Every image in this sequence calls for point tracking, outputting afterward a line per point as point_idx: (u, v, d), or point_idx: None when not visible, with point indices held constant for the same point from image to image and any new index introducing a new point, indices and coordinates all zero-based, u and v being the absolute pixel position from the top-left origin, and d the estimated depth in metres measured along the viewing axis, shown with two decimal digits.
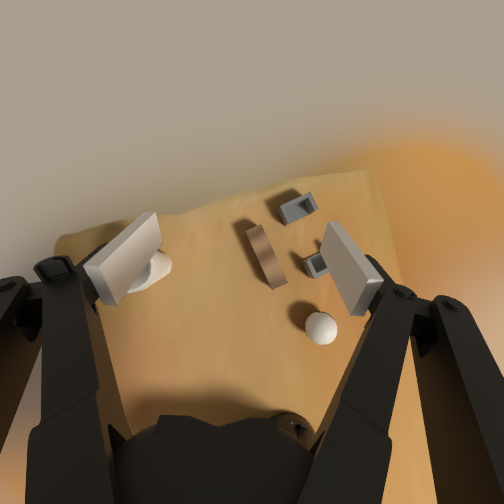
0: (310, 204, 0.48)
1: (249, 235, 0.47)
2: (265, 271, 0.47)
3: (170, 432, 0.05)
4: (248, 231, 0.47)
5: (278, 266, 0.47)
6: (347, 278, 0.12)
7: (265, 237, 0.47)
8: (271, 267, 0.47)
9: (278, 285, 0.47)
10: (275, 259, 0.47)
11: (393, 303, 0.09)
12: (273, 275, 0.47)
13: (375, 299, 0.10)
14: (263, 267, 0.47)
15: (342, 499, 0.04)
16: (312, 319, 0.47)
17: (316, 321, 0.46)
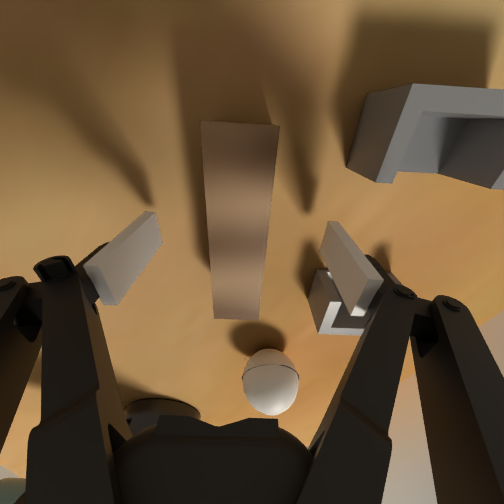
0: (500, 154, 0.12)
1: (211, 154, 0.11)
2: (215, 281, 0.16)
3: (170, 432, 0.05)
4: (212, 130, 0.10)
5: (256, 284, 0.16)
6: (347, 278, 0.12)
7: (266, 192, 0.12)
8: (235, 278, 0.16)
9: (233, 317, 0.18)
10: (259, 266, 0.15)
11: (393, 303, 0.09)
12: (231, 295, 0.17)
13: (375, 299, 0.10)
14: (214, 270, 0.15)
15: (342, 499, 0.04)
16: (263, 377, 0.24)
17: (268, 388, 0.23)
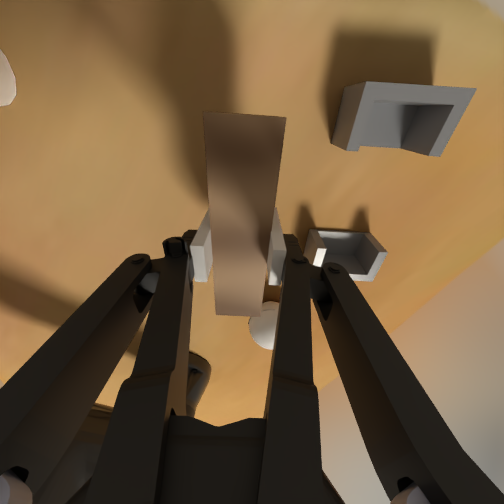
0: (434, 130, 0.17)
1: (214, 146, 0.10)
2: (217, 277, 0.16)
3: (170, 432, 0.05)
4: (216, 122, 0.10)
5: (259, 281, 0.16)
6: (269, 253, 0.13)
7: (270, 187, 0.12)
8: (238, 274, 0.15)
9: (235, 313, 0.18)
10: (262, 263, 0.15)
11: (293, 271, 0.10)
12: (233, 292, 0.16)
13: (283, 268, 0.12)
14: (216, 266, 0.15)
15: (293, 464, 0.04)
16: (266, 318, 0.30)
17: (269, 326, 0.29)
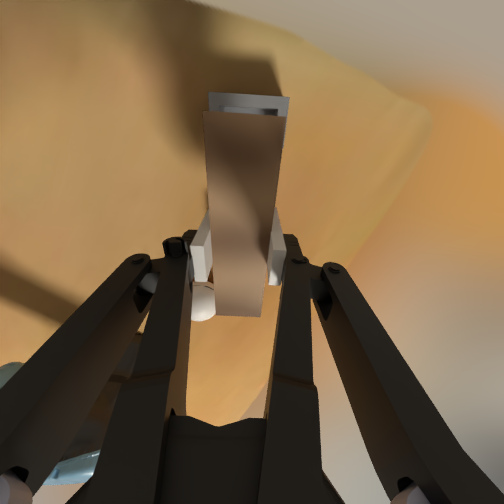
0: None
1: (214, 146, 0.10)
2: (217, 277, 0.15)
3: (170, 432, 0.05)
4: (215, 121, 0.10)
5: (259, 281, 0.16)
6: (269, 253, 0.13)
7: (270, 187, 0.12)
8: (238, 275, 0.15)
9: (235, 314, 0.18)
10: (262, 263, 0.15)
11: (293, 271, 0.10)
12: (233, 292, 0.16)
13: (283, 268, 0.12)
14: (216, 266, 0.15)
15: (293, 465, 0.04)
16: None
17: (192, 298, 0.34)
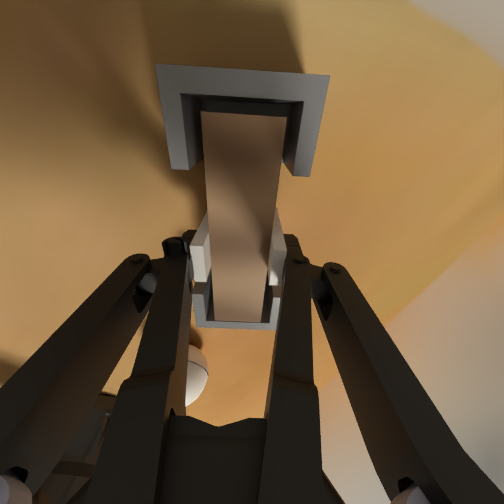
0: (295, 139, 0.11)
1: (213, 147, 0.10)
2: (216, 281, 0.15)
3: (170, 432, 0.05)
4: (214, 122, 0.10)
5: (259, 285, 0.15)
6: (269, 253, 0.13)
7: (271, 189, 0.11)
8: (237, 279, 0.15)
9: (234, 319, 0.17)
10: (262, 267, 0.14)
11: (294, 271, 0.10)
12: (233, 297, 0.16)
13: (283, 268, 0.12)
14: (215, 270, 0.15)
15: (293, 465, 0.04)
16: None
17: None
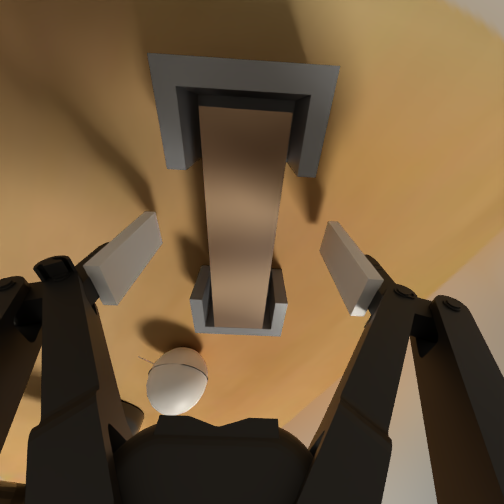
0: (301, 137, 0.10)
1: (212, 145, 0.09)
2: (216, 287, 0.14)
3: (170, 432, 0.05)
4: (213, 118, 0.09)
5: (261, 291, 0.15)
6: (347, 278, 0.12)
7: (274, 190, 0.10)
8: (238, 285, 0.14)
9: (235, 325, 0.17)
10: (264, 273, 0.14)
11: (393, 303, 0.09)
12: (233, 303, 0.15)
13: (375, 299, 0.10)
14: (215, 276, 0.14)
15: (342, 499, 0.04)
16: (160, 377, 0.23)
17: (162, 388, 0.22)
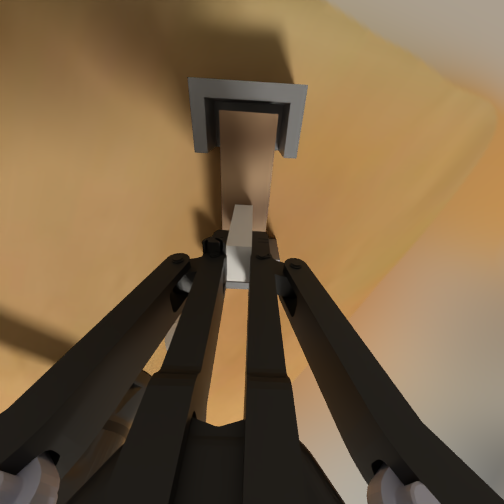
0: (285, 130, 0.16)
1: (226, 135, 0.14)
2: None
3: None
4: (228, 117, 0.14)
5: None
6: None
7: (268, 166, 0.15)
8: None
9: None
10: (261, 230, 0.19)
11: (258, 267, 0.10)
12: None
13: (249, 264, 0.12)
14: None
15: (274, 461, 0.04)
16: None
17: None
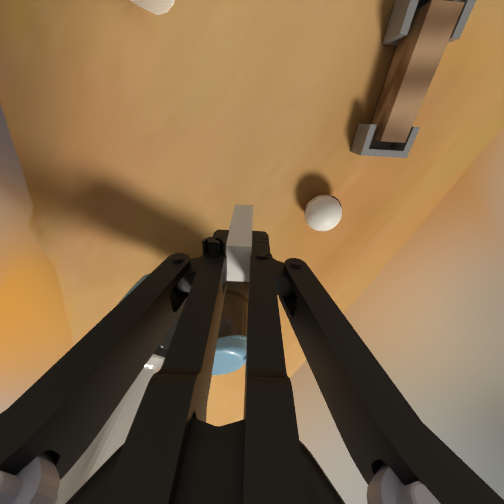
0: None
1: (429, 17, 0.25)
2: (395, 106, 0.30)
3: None
4: (435, 4, 0.24)
5: (415, 110, 0.30)
6: None
7: (445, 41, 0.26)
8: (406, 104, 0.30)
9: (392, 139, 0.32)
10: (422, 95, 0.29)
11: (258, 267, 0.10)
12: (398, 119, 0.31)
13: (249, 264, 0.12)
14: (398, 98, 0.30)
15: (274, 461, 0.04)
16: (322, 200, 0.39)
17: (326, 204, 0.38)
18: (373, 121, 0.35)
